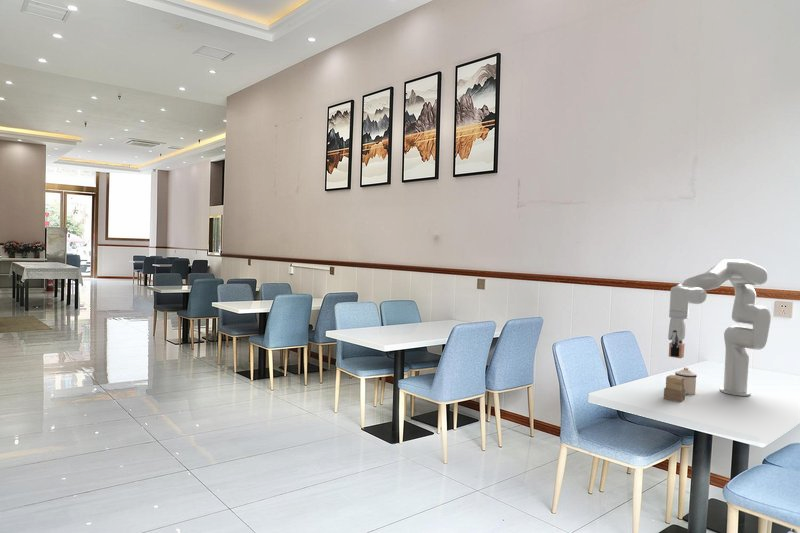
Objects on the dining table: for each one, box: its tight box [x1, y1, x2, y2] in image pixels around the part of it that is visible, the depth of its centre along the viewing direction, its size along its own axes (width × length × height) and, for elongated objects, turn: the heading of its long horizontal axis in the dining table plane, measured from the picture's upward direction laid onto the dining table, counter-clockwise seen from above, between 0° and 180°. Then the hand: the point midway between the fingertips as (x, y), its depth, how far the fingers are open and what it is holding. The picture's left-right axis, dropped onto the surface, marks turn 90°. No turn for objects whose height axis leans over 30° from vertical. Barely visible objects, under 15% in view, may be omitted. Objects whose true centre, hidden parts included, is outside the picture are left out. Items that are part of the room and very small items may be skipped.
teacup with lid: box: [672, 367, 697, 396], centre depth 259 cm, size 12×9×12 cm
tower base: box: [663, 386, 686, 403], centre depth 244 cm, size 7×7×5 cm
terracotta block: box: [668, 341, 685, 359], centre depth 244 cm, size 5×5×6 cm
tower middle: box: [665, 374, 685, 391], centre depth 244 cm, size 6×6×5 cm
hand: (676, 355), depth 244 cm, fingers closed on terracotta block, 5 cm apart
